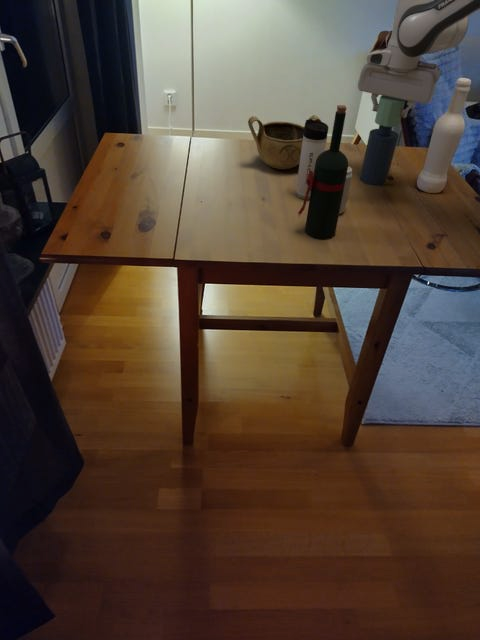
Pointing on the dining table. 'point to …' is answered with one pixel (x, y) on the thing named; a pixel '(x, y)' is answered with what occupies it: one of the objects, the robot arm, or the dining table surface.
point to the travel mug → (310, 153)
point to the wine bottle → (327, 185)
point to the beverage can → (346, 190)
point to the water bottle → (378, 155)
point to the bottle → (444, 141)
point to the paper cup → (389, 111)
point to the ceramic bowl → (279, 142)
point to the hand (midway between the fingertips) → (388, 114)
